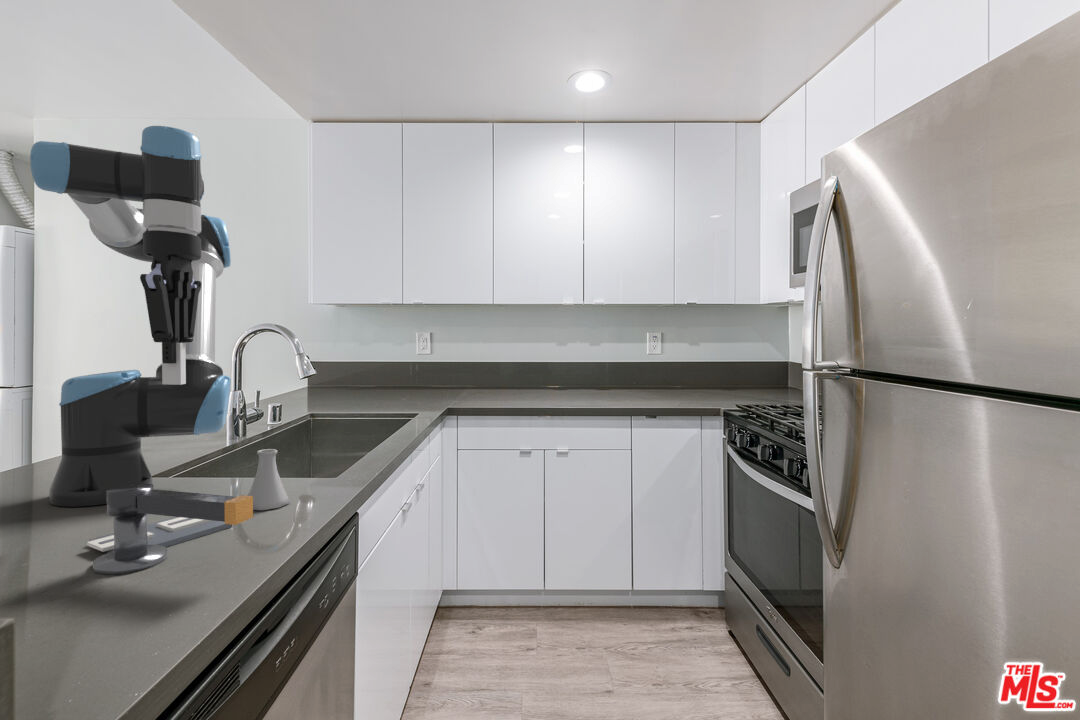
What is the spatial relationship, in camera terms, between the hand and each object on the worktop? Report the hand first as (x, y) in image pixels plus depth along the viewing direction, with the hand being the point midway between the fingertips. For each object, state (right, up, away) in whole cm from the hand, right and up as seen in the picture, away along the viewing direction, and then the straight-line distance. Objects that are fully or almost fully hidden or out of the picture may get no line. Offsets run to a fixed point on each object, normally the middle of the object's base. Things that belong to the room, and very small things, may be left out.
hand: (174, 383), depth 86 cm
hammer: (+10, -17, -14) cm, 24 cm away
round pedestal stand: (+3, -23, -13) cm, 27 cm away
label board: (0, -23, -3) cm, 23 cm away
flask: (+8, -23, +13) cm, 27 cm away
